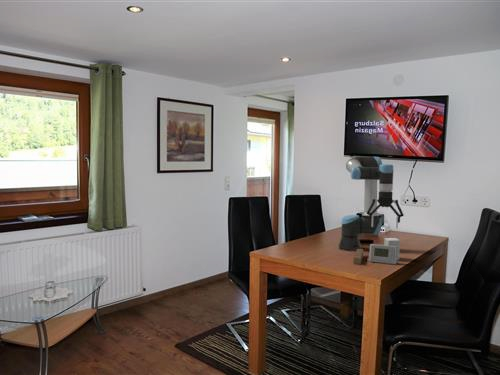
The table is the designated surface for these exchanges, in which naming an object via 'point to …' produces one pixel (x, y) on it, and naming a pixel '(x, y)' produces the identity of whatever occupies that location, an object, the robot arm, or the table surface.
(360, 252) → the walnut batten
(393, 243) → the supplement box
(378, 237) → the table surface
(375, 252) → the digital clock
